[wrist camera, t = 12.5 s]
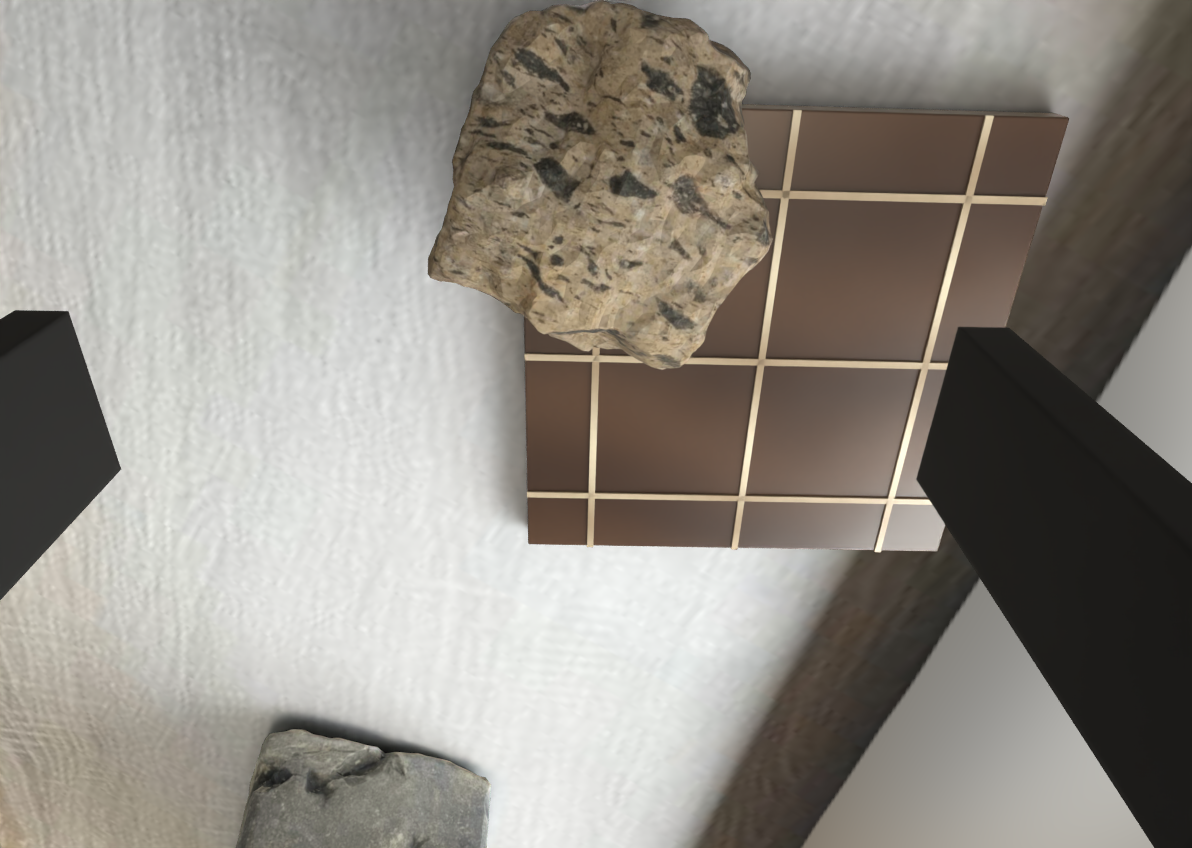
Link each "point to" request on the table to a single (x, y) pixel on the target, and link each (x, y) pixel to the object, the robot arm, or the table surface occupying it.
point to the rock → (606, 181)
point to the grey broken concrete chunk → (360, 798)
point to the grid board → (802, 345)
